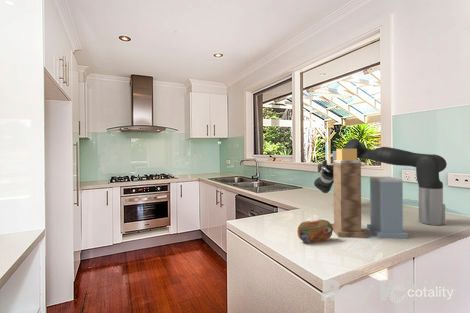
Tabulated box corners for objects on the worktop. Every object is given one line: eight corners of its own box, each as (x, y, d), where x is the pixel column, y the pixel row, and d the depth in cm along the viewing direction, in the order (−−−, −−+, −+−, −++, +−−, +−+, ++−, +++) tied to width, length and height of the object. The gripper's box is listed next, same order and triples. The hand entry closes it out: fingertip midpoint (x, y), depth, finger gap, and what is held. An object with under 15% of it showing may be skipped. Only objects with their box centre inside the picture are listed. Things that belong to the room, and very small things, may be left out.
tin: (300, 244, 94) (300, 223, 93) (296, 241, 97) (296, 221, 96) (333, 240, 98) (333, 219, 97) (328, 237, 101) (328, 217, 100)
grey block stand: (392, 229, 109) (392, 176, 108) (408, 238, 97) (407, 179, 96) (366, 228, 110) (366, 176, 110) (379, 238, 98) (378, 179, 98)
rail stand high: (355, 228, 111) (354, 159, 110) (366, 237, 99) (365, 160, 98) (330, 227, 112) (330, 159, 112) (338, 237, 101) (337, 161, 100)
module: (343, 158, 119) (343, 148, 119) (356, 160, 101) (356, 148, 101) (330, 159, 120) (330, 149, 120) (342, 160, 102) (341, 148, 102)
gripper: (314, 168, 140) (319, 155, 126) (340, 168, 138) (348, 154, 124) (316, 180, 137) (321, 168, 123) (342, 180, 135) (350, 167, 121)
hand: (334, 161), depth 123 cm, fingers open, 8 cm apart
